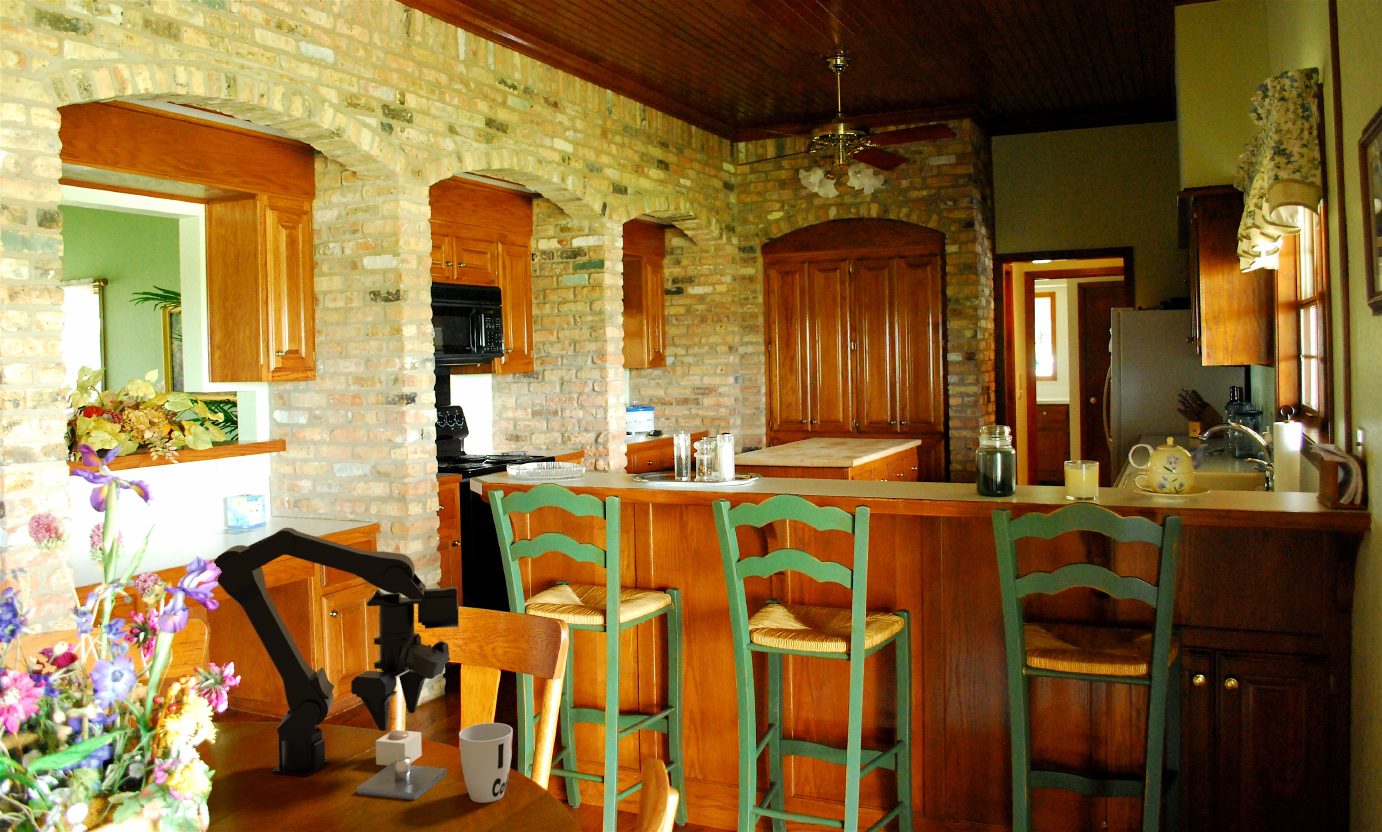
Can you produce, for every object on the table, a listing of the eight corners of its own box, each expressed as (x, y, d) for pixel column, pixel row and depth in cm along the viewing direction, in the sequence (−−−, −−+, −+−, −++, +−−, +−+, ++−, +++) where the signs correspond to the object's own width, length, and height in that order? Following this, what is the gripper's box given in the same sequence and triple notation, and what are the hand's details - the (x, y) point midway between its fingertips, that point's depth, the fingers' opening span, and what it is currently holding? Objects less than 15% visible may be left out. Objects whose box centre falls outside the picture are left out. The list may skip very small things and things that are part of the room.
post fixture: (357, 793, 152) (356, 768, 152) (391, 769, 162) (391, 745, 162) (415, 799, 150) (414, 774, 150) (446, 774, 159) (446, 750, 159)
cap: (376, 764, 164) (375, 738, 164) (393, 752, 169) (393, 727, 169) (405, 767, 163) (404, 741, 163) (421, 755, 168) (421, 729, 168)
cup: (501, 808, 146) (500, 742, 146) (450, 804, 148) (449, 739, 148) (521, 787, 154) (520, 724, 154) (473, 783, 156) (472, 721, 156)
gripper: (411, 647, 154) (412, 745, 155) (466, 619, 172) (466, 707, 173) (348, 642, 157) (349, 739, 157) (409, 616, 175) (409, 702, 176)
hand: (397, 721), depth 166 cm, fingers open, 9 cm apart
